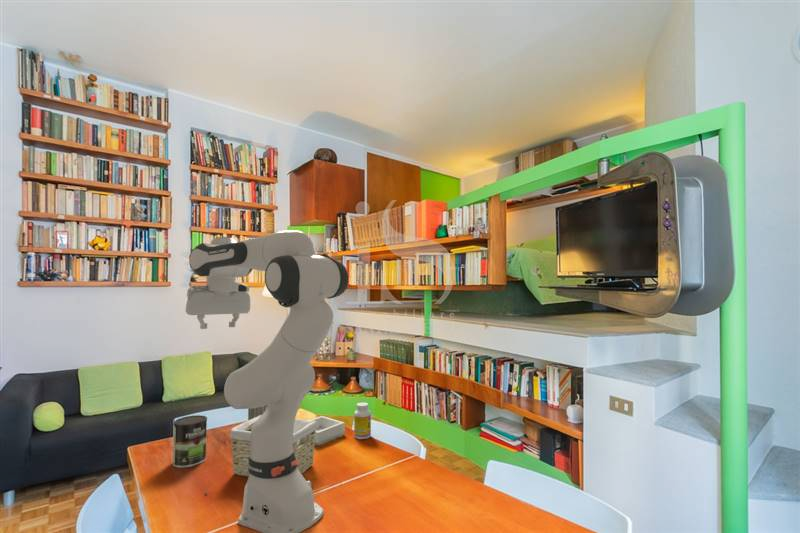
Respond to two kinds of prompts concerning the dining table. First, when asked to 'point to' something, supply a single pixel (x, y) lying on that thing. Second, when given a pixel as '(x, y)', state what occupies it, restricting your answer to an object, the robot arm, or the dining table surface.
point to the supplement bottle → (362, 421)
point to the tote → (328, 430)
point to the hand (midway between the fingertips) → (218, 327)
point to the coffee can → (189, 441)
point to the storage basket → (301, 444)
